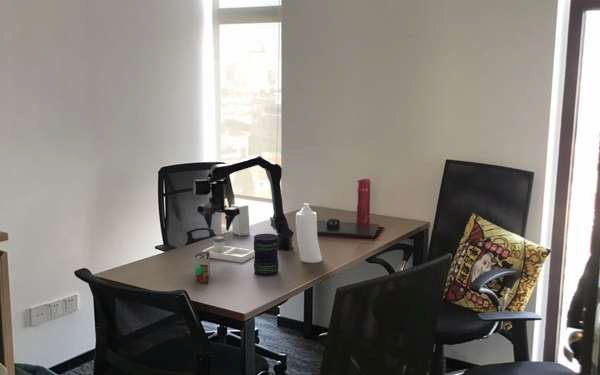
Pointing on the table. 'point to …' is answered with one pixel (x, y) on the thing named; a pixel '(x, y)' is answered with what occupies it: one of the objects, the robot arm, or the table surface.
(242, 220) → the skincare box
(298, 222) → the white plastic bottle
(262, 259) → the storage jar
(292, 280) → the table surface
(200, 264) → the food container
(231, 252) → the sorting tray
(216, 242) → the grey mushroom
